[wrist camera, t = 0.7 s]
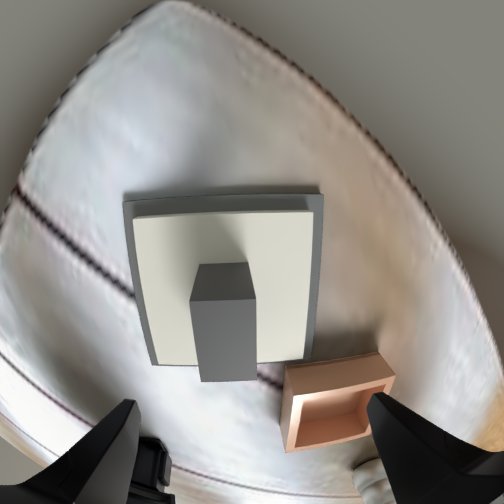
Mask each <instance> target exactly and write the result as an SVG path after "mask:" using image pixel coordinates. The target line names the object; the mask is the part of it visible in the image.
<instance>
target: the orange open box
mask: <svg viewBox="0 0 504 504" xmlns="http://www.w3.org/2000/svg"><path fill="white" fill-rule="evenodd" d="M395 377H396V374H395V373H394V372H393V370H392V369H391V368H390V366H389V365H388V364H387V362H386V361H385V360H384V358H383V357H382V356H381V354H380V353H379V352H378V351H377V352H372V353H367V354H362V355H357V356H351V357H345V358H339V359H333V360H326V361H319V362H312V363H304V364H295V365H286V366H285V372H284V384H283V395H282V406H281V416H280V430H281V435H282V439H283V444H284V449H285V453H288V452H295V451H302V450H308V449H313V448H318V447H323V446H328V445H333V444H337V443H342V442H346V441H350V440H353V439H357V438H361V437H364V436H368V435H370V433H371V427H370V423H369V419H368V415H367V411H366V407H367V404H368V402H369V400H370V398H371V396H372V394H373V393H377V392H384V393H386V394H387V395H388V394H389V392H390V390H391V387H392V385H393V382H394V380H395Z"/></svg>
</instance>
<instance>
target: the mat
mask: <svg viewBox="0 0 504 504" xmlns="http://www.w3.org/2000/svg"><path fill="white" fill-rule="evenodd" d="M122 203H123V214H124V224H125V233H126V241H127V249H128V256H129V263H130V269H131V275H132V281H133V286H134V292H135V297H136V302H137V307H138V312H139V316H140V321H141V325H142V329H143V333H144V338H145V341H146V345H147V349H148V353H149V357H150V360H151V364H152V365H156V366H198V365H165V364H158V360H157V356H156V352H155V348H154V344H153V340H152V335H151V331H150V327H149V322H148V317H147V312H146V307H145V302H144V297H143V291H142V286H141V280H140V274H139V267H138V260H137V253H136V246H135V237H134V228H133V219H134V218H136V217H138V216H151V215H166V214H184V213H204V212H228V211H263V210H310V211H312V212H313V237H312V258H311V274H310V289H309V302H308V314H307V325H306V335H305V344H304V353H303V359H295V360H285V361H274V362H262V363H257V364H267V363H278V362H289V361H298V360H306V359H311V354H312V346H313V338H314V329H315V320H316V311H317V301H318V290H319V278H320V265H321V249H322V231H323V204H324V195H323V194H231V195H206V196H187V197H171V198H157V199H145V200H134V201H125V202H122Z"/></svg>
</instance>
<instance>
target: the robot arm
mask: <svg viewBox="0 0 504 504" xmlns="http://www.w3.org/2000/svg"><path fill="white" fill-rule="evenodd" d="M366 411H367V415H368V419H369V423H370V427H371V431H372V435H373V439H374V442H375V445H376V447H377V450H378V453H379V455H380V458H381V461H382V464H383V466H384V469H385V472H386V475H387V478H388V480H389V483H390V486H391V489H392V492H393V495H394V498H395V501H396V504H504V451H500V452H489V451H486V450H483V449H481V448H478V447H476V446H474V445H471V444H469V443H467V442H465V441H463V440H460V439H458V438H457V437H455V436H453V435H451V434H449V433H448V432H446V431H444V430H443V429H441V428H439V427H438V426H436V425H434V424H433V423H431V422H430V421H428V420H426V419H425V418H423V417H422V416H420V415H418V414H417V413H415V412H414V411H412V410H410V409H409V408H407V407H406V406H404V405H403V404H401V403H399V402H398V401H396V400H395V399H393V398H392V397H390V396H389V395H387V394H386V393H384V392H377V393H373V394H372V396H371V398H370V400H369V402H368V404H367V407H366ZM140 422H141V413H140V410H139V407H138V405H137V402H136V401H135V400H132V399H124V400H123V401H122V402H121V403H120V404H119V405H118V406H116V407H115V408H114V409H113V410H112V411H111V412H110V413H109V414H108V415H107V416H106V417H104V418H103V419H102V420H101V421H100V422H99V423H98V424H97V425H96V426H95V427H94V428H92V429H91V430H90V431H89V432H88V433H87V434H86V435H85V436H84V437H83V438H81V439H80V440H79V441H78V442H77V443H76V444H75V445H74V446H72V447H71V448H70V449H69V451H67V452H66V453H65V454H63V455H62V456H61V457H60V458H59V459H57V460H56V461H55V462H54V463H52V464H51V465H50V466H48V467H47V468H45V469H44V470H43V471H41V472H39V473H38V474H36V475H34V476H33V477H31V478H30V479H28V480H26V481H25V482H23V483H20V484H16V485H0V504H175V495H174V494H167V493H164V488H165V486H167V487H168V486H169V484H170V474H171V466H172V460H171V458H170V456H169V454H168V453H167V452H166V451H165V449H164V447H163V445H162V443H161V441H160V440H158V439H150V438H141V437H139V430H140Z"/></svg>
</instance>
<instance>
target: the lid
mask: <svg viewBox="0 0 504 504" xmlns="http://www.w3.org/2000/svg"><path fill="white" fill-rule="evenodd" d="M133 228H134V237H135V246H136V253H137V260H138V267H139V274H140V280H141V286H142V291H143V297H144V302H145V307H146V312H147V317H148V322H149V327H150V331H151V335H152V340H153V344H154V348H155V352H156V356H157V360H158V364H165V365H198V367H199V373H200V378H201V382H229V381H249V380H257V363H262V362H274V361H285V360H295V359H303V353H304V344H305V335H306V325H307V314H308V302H309V289H310V274H311V258H312V237H313V212H312V211H310V210H263V211H228V212H204V213H184V214H166V215H151V216H138V217H136V218H134V219H133Z"/></svg>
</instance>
